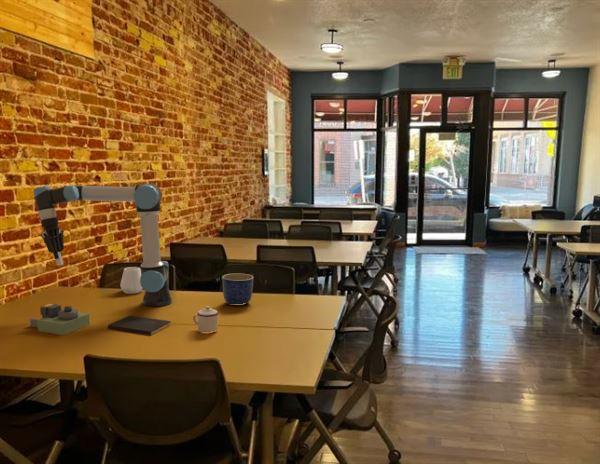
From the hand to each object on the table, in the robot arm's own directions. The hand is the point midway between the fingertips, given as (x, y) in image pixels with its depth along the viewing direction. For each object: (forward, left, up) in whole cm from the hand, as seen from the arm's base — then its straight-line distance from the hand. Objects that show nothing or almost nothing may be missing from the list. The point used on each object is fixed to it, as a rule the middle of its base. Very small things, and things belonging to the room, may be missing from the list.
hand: (60, 265), depth 241 cm
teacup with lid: (-78, -4, -24) cm, 81 cm away
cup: (-7, -47, -24) cm, 54 cm away
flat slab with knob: (-14, +17, -24) cm, 33 cm away
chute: (-11, +17, -24) cm, 32 cm away
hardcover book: (-48, +3, -25) cm, 54 cm away
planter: (-73, -49, -24) cm, 91 cm away
